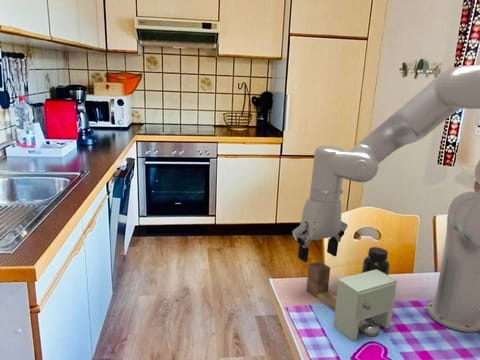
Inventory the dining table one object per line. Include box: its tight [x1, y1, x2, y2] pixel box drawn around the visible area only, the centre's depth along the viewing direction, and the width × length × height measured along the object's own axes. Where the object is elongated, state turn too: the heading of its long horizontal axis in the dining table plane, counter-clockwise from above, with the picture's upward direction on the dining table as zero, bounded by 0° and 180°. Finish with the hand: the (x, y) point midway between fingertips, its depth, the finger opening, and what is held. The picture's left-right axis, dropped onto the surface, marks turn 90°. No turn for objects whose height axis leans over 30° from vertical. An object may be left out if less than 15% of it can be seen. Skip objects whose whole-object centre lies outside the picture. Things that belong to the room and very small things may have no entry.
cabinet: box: [333, 269, 398, 342], centre depth 89 cm, size 12×7×12 cm, turn 118°
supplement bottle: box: [361, 246, 391, 276], centre depth 106 cm, size 7×7×12 cm
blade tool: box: [306, 261, 337, 312], centre depth 100 cm, size 4×14×8 cm, turn 28°
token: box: [358, 318, 380, 338], centre depth 89 cm, size 4×4×2 cm
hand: (317, 257), depth 103 cm, fingers open, 9 cm apart
